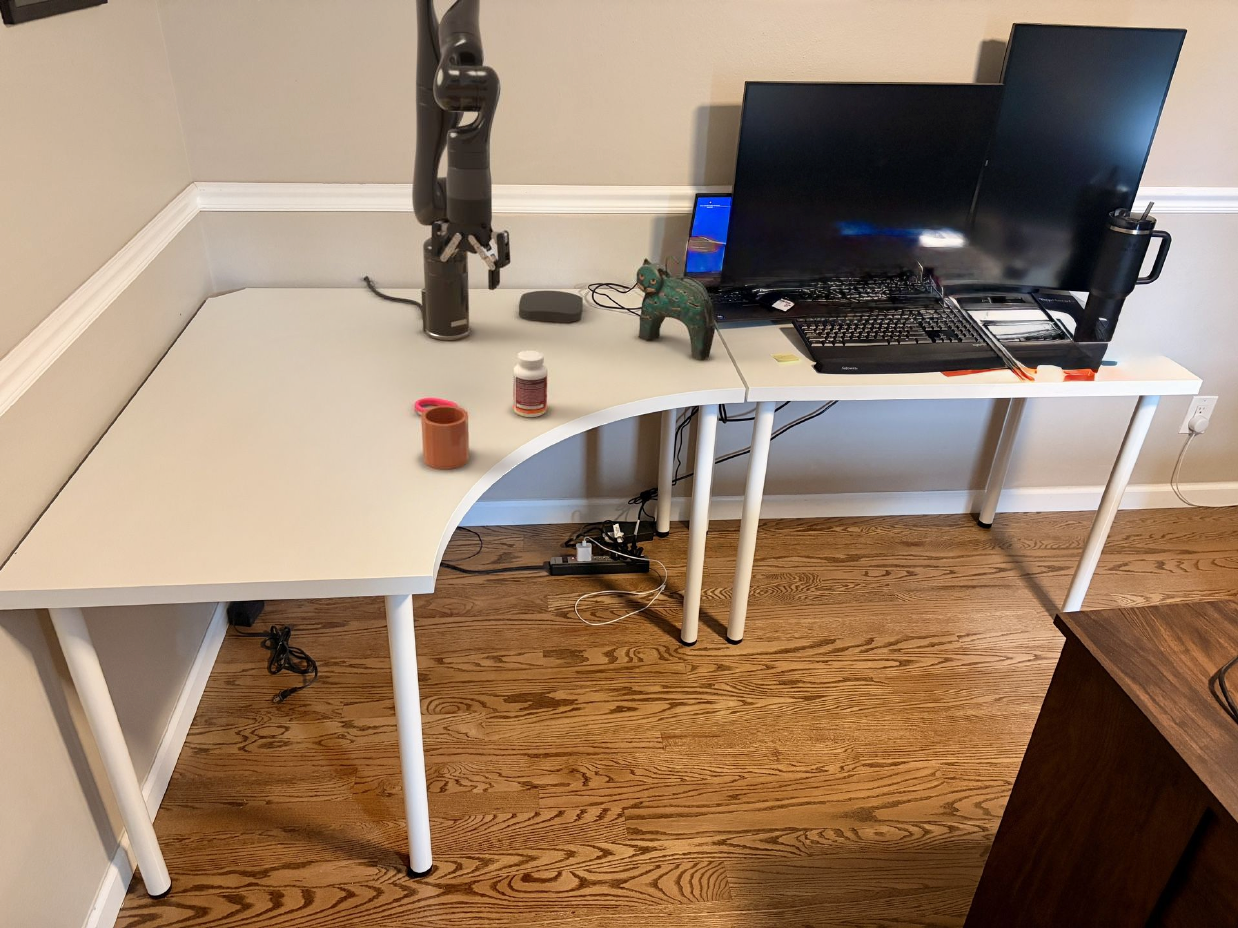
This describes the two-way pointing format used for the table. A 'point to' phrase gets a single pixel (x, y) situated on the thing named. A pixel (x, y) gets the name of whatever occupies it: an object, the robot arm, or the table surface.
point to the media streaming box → (551, 306)
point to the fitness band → (431, 401)
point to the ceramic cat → (675, 306)
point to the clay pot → (445, 437)
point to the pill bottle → (530, 384)
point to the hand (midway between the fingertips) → (471, 285)
